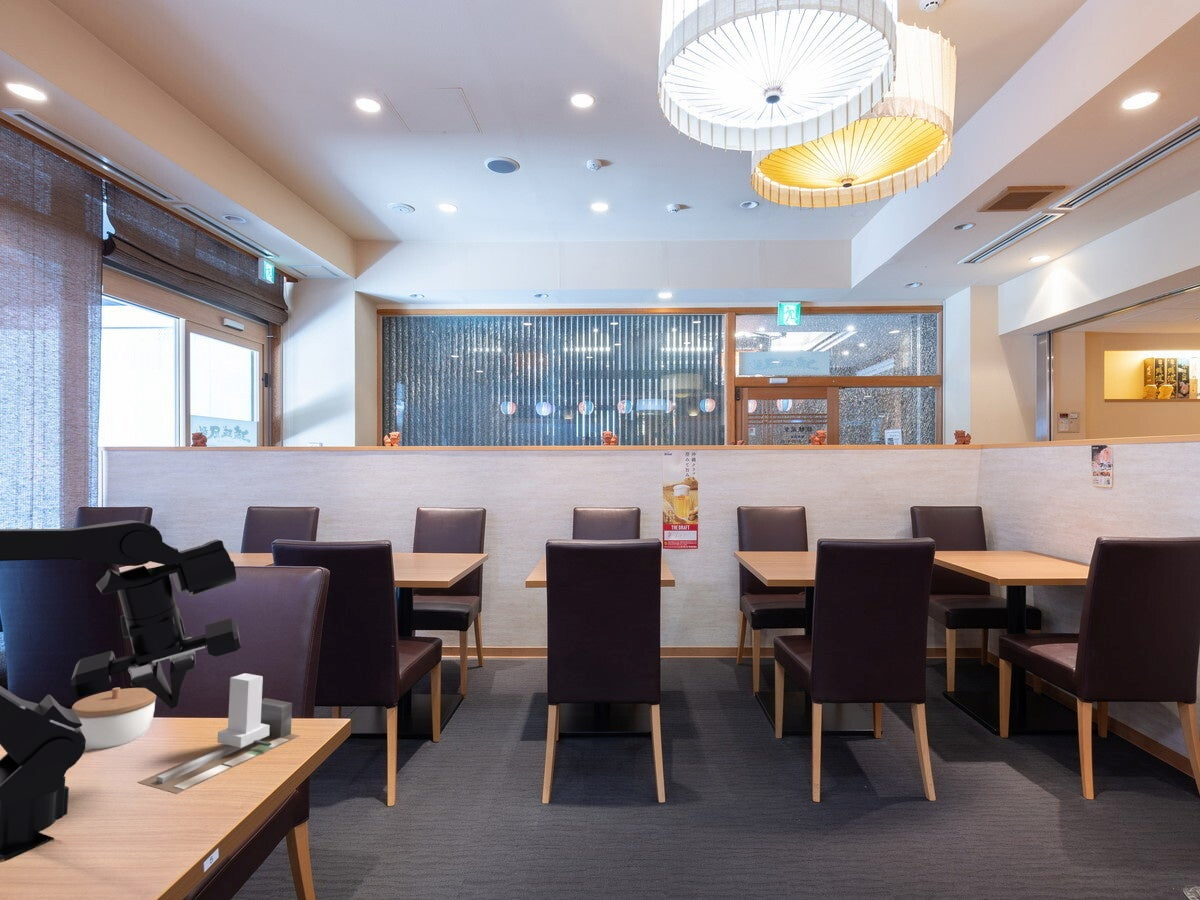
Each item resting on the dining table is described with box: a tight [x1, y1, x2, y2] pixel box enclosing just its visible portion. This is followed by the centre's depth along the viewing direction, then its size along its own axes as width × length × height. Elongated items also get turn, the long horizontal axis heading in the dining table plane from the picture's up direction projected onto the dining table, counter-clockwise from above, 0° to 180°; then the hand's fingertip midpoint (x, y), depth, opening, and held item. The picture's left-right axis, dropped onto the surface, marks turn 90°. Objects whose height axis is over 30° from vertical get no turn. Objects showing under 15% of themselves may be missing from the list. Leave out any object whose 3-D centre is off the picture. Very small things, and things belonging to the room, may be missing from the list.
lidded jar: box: [71, 687, 157, 752], centre depth 97 cm, size 11×11×9 cm
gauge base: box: [137, 697, 300, 795], centre depth 91 cm, size 20×8×6 cm, turn 159°
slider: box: [217, 672, 271, 748], centre depth 94 cm, size 5×8×10 cm, turn 69°
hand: (174, 706), depth 86 cm, fingers closed
